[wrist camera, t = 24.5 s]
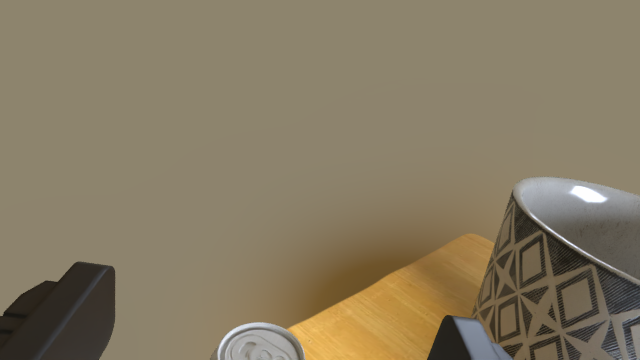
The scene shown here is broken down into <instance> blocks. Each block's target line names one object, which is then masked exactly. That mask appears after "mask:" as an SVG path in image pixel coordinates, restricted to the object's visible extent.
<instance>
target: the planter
mask: <svg viewBox="0 0 640 360" xmlns="http://www.w3.org/2000/svg"><path fill="white" fill-rule="evenodd" d="M471 318H473V319H477V320H479V321H480V322H481V324H482V325H483V327H484V329H485V331H486V333H487V335H488V337H489V338H490V340H491V342H492V343H497V344H499V345H500V346H501V347H502V348H503V349H504V350H505V351H506V352H507V353H508V354H509V355H510V356H511V357H512V358H513V359H514V360H640V196H638V195H636V194H632V193H629V192H625V191H622V190H618V189H615V188H611V187H607V186H603V185H598V184H594V183H589V182H585V181H579V180H574V179H567V178H559V177H531V178H526V179H523V180H521V181H519V182H517V183H516V184H515V186H514V188H513V191H512V194H511V197H510V200H509V203H508V206H507V209H506V212H505V215H504V218H503V221H502V224H501V227H500V230H499V233H498V236H497V239H496V242H495V245H494V248H493V251H492V254H491V257H490V260H489V264H488V267H487V270H486V273H485V276H484V279H483V282H482V285H481V288H480V291H479V294H478V297H477V300H476V303H475V306H474V309H473V312H472V315H471Z"/></svg>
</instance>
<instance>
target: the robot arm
mask: <svg viewBox="0 0 640 360" xmlns="http://www.w3.org/2000/svg"><path fill="white" fill-rule="evenodd" d="M114 322H115V270H114V268H113V267H112V266H107V265H100V264H93V263H86V262H76V263H75V264H74V265H73V266H72V267H71V268H70V269H69V270H68V271H67V272H66V273H65V275H64V276H63V277H62V278H61V279H60V280H59V281H58V282H54V281H44V282H43V283H41V284H39V285H37V286H36V287H34V288H32V289H30V290H28V291H27V292H25V293H23V294H21V295H20V296H19V297H18V298H17V299H16V300H15V301H14V303H12V305H10V307H9V308H8V309H7V310H6V311H5V312H4V314H3V316H0V360H99V358H100V357H101V355H102V353H103V351H104V350H105V348H106V346H107V344H108V342H109V340H110V337H111V335H112V331H113V327H114ZM427 360H514V359H513V358H512V357H511V356H510V355H509V354H508V353H507V352H506V351H505V350H504V349H503V348H502V347H501V346H500V345H499V344H497V343H492V342H491V340H490V338H489V337H488V335H487V333H486V331H485V329H484V327H483V325H482V324H481V322H480V321H479V320H477V319H473V318H465V317H458V316H451V315H447V316H445V317H444V319H443V320H442V323H441V325H440V328H439V330H438V333H437V335H436V338H435V341H434V343H433V346H432V348H431V351H430V353H429V356H428V359H427Z"/></svg>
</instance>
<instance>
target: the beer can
mask: <svg viewBox="0 0 640 360" xmlns="http://www.w3.org/2000/svg"><path fill="white" fill-rule="evenodd" d="M210 360H305V353H304V350H303V347H302V345H301V343H300V342H299V341H298V339H297V338H296V337H295V336H294V335H293V334H292V333H290V332H289V331H288V330H286V329H284V328H282V327H280V326H277V325H274V324H270V323H262V322H255V323H248V324H244V325H241V326H238V327H236V328H234V329H233V330H231V331H230V332H228V333H227V334H226V335H225V336H224V337H223V339H222V340H221V342H220V344H219V346H218V347H217V348H216V349H215V351H214V353H213V354H212V356H211V358H210Z"/></svg>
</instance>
